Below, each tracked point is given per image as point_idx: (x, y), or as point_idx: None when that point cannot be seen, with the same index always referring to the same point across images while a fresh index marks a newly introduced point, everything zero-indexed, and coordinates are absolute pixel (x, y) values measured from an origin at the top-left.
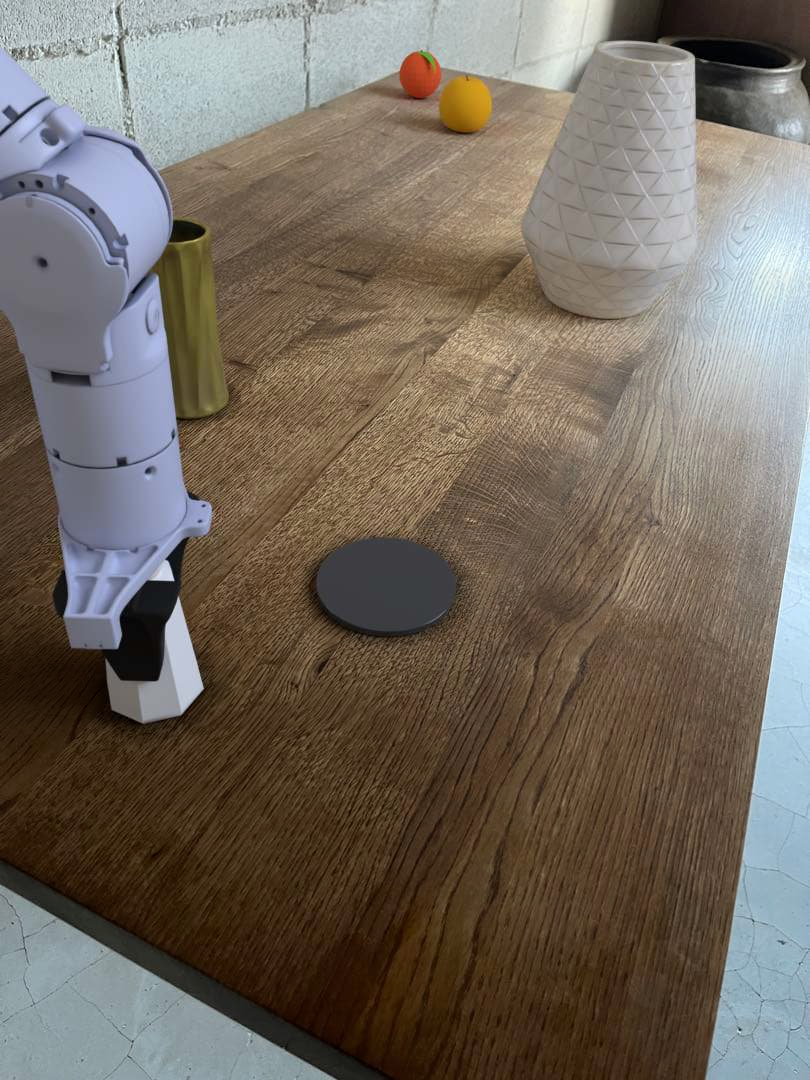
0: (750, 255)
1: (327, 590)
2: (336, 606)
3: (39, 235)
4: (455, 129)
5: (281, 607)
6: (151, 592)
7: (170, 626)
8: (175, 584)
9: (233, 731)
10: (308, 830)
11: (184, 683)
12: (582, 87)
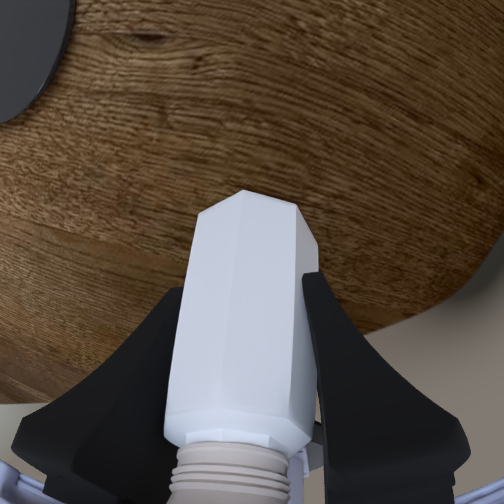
0: None
1: (22, 94)
2: (42, 67)
3: None
4: None
5: (64, 140)
6: (392, 485)
7: (273, 322)
8: (365, 478)
9: (309, 126)
10: (446, 11)
11: (277, 224)
12: None
